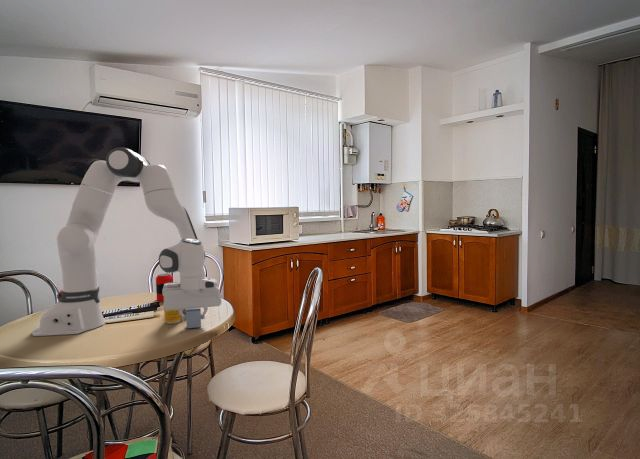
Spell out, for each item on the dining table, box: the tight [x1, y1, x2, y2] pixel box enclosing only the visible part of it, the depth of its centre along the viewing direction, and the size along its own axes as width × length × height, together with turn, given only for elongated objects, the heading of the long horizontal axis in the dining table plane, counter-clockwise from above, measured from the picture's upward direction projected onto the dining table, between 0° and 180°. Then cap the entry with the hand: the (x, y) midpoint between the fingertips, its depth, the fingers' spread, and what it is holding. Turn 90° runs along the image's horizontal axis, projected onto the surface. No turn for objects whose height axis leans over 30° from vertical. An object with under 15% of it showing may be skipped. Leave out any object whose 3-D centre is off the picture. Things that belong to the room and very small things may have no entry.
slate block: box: [185, 308, 202, 329], centre depth 140 cm, size 5×5×6 cm
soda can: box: [155, 273, 174, 303], centre depth 179 cm, size 8×8×12 cm
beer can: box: [163, 281, 182, 325], centre depth 146 cm, size 6×6×15 cm
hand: (193, 319), depth 140 cm, fingers closed on slate block, 5 cm apart
